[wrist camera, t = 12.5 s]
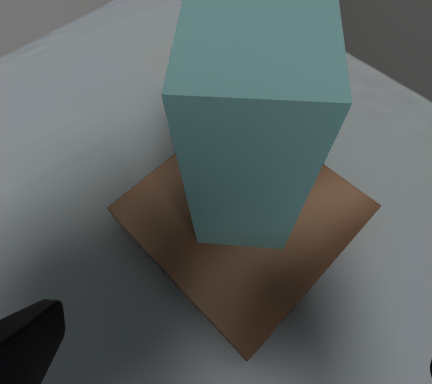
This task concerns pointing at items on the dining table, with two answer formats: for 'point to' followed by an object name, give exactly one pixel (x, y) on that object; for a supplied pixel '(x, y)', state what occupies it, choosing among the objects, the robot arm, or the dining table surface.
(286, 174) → the teal block
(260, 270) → the walnut board
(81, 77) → the dining table surface
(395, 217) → the dining table surface
